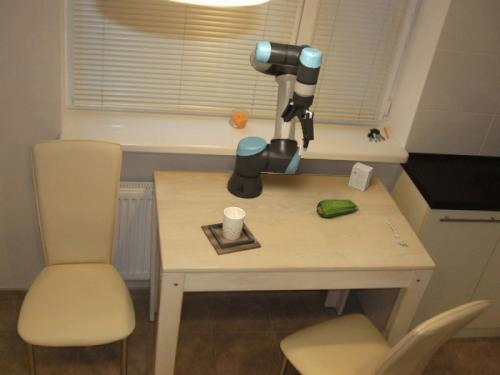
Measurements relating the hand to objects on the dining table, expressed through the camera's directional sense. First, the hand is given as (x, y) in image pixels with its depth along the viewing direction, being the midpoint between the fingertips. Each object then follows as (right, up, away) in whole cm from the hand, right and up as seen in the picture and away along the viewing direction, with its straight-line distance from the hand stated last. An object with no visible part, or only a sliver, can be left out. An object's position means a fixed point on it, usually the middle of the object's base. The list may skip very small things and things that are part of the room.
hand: (293, 146), depth 203 cm
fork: (+42, -33, +20) cm, 57 cm away
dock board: (-23, -34, -1) cm, 41 cm away
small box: (+34, -15, +47) cm, 60 cm away
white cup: (-23, -33, -1) cm, 41 cm away
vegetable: (+20, -26, +25) cm, 41 cm away
